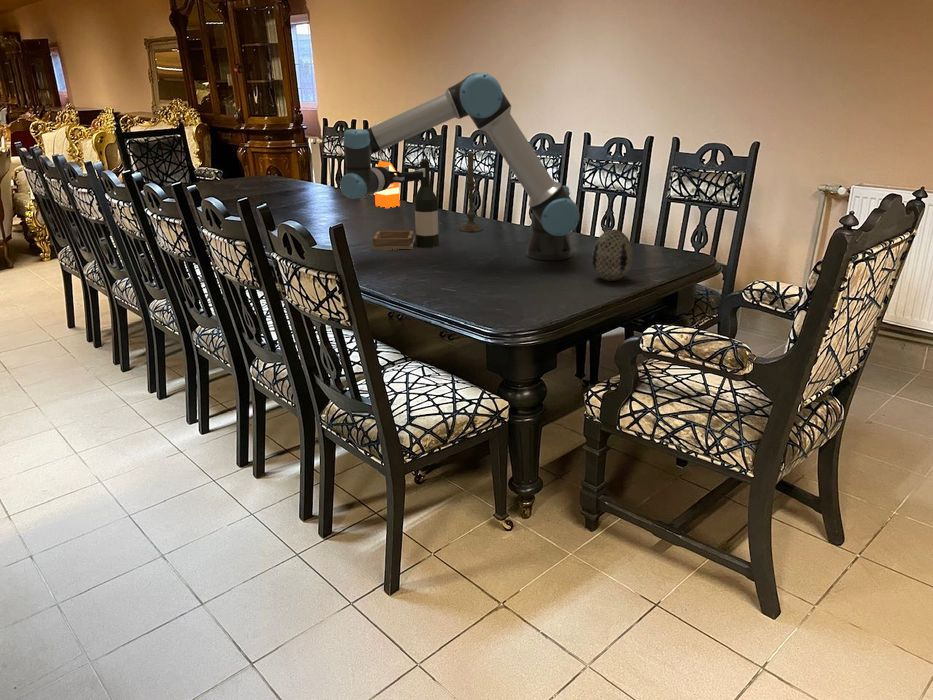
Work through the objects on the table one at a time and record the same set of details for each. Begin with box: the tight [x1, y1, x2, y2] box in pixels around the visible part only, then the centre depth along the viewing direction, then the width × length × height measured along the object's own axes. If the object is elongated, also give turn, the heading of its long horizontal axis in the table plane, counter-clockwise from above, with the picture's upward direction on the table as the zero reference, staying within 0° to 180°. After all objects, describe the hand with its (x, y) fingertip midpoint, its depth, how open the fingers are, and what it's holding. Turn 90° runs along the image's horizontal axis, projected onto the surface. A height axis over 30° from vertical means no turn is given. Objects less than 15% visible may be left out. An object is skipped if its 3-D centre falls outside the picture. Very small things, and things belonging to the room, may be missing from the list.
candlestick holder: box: [459, 151, 484, 233], centre depth 265 cm, size 9×9×30 cm
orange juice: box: [374, 160, 401, 209], centre depth 316 cm, size 8×9×20 cm
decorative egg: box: [591, 229, 634, 282], centre depth 202 cm, size 12×12×15 cm
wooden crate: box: [371, 230, 416, 251], centre depth 248 cm, size 14×14×4 cm
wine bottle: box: [414, 158, 440, 248], centre depth 243 cm, size 8×8×30 cm
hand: (406, 171), depth 234 cm, fingers open, 13 cm apart
